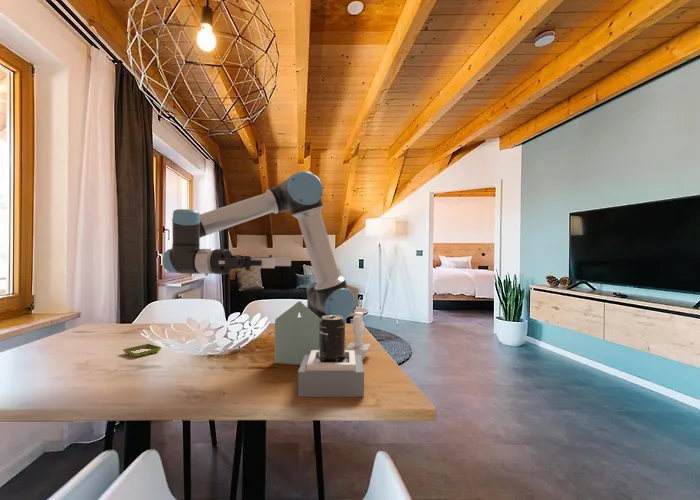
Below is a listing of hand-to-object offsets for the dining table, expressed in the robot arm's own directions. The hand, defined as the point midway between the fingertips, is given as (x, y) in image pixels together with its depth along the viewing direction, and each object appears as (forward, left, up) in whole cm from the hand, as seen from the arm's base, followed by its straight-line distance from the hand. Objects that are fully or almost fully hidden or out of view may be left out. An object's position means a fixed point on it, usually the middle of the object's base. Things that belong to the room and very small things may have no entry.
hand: (283, 262), depth 98 cm
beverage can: (+9, +15, -26) cm, 31 cm away
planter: (-11, +5, -32) cm, 34 cm away
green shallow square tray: (-19, -51, -33) cm, 64 cm away
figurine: (-15, +23, -32) cm, 42 cm away
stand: (+9, +15, -32) cm, 36 cm away
